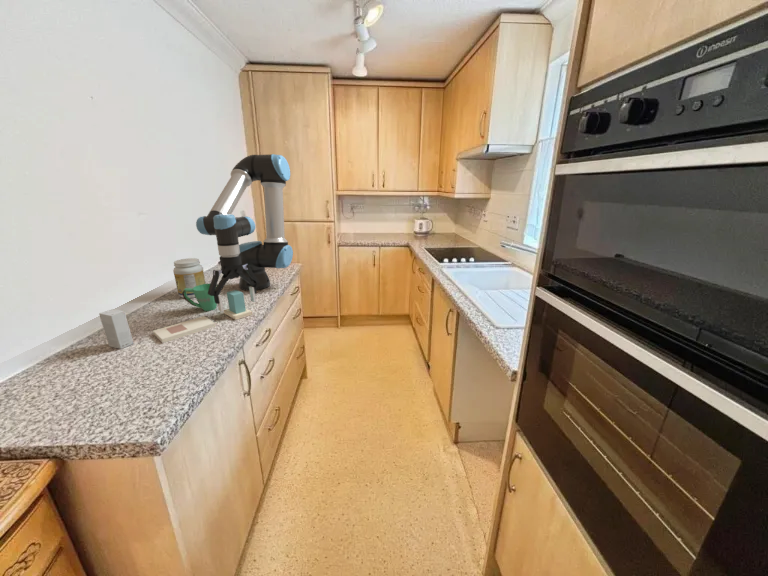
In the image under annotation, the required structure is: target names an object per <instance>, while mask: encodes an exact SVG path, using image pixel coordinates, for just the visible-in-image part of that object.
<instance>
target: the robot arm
mask: <svg viewBox="0 0 768 576" xmlns="http://www.w3.org/2000/svg"><path fill="white" fill-rule="evenodd" d="M290 169H291V168H290V165H289V163H288V161H287V158H285V156H283V155H282V154H274V153H272V154H270V153H269V154H251V155H247V156H245V157H244V158H242V159H241V160H239V162H237V163H236V164H235V165H234V167H233V168H232V169H231V171H230V178H229V179H228V181H227V183H226V185H225V186H224V188H223V189H222V191H221V192H220V195H218V198H217V199H216V201H215V202H214V204H213V205H212V208H211V209H210V210H209V212H208V214H207V216H205V215H204V216H199V217H198V218H197V219H196V222H195V226H196V229H197V231H198V232H199V234H201V235H204V236H205V235H207V236H216V238H215V239H216V244H217V250H218V255H219V263H220V267H221V268H220V269H213V270H212V278H211V281H210V283H209V284H210V287H209V290H208V294H209V295H210V296H214V301H215V303H216V304H217V308H218V311H220V312H224V306H223V300H222V295H220V294H221V292H222V291H223V289H224V287H225V285H226V284H227V282H228V281H229V280H233V279H238V278H239V281H238V285H239V290H240V289H241V290H242V291H249V295H250V296H249V297H250V302H252V303H256V302H257V300H256V294H257V290H263V289H267V288H268V287H270V286H271V280H270V277H269V275H268V274H267V272H266V269H268V268H269V269H271V268H272V269H287V268H289V266H290V265H291V263H292V260H293V257H294V256H293V255H294V250H293V247H292V246H291V245H290V244H289V240H287V239H286V238H285V217H284V216H285V215H284V214H285V213H284V209H285V208H284V190H283V189H284V188H285V187H286V185H287V182H288V181H289V180H290V179H291V170H290ZM257 181H260V185H261V186H262V187H263V193H264V194H263V195H264V213H265V215H264V216H265V231H266V235H265V236H266V238H265V239H264V240H263V242H262V240H254V241H248V242H244V243H241V244H239V238H241V237H245V236H250V235H251V234H253V233H254V232H255V230H256V224H255V221H254V220H253V218H252V217H249V216H239V217H235V214H233V212H234V210H235V208H236V206H237V205H238V203H239V202H240V200H241V198H242V196H243V194H244V193H245V192H246V189H247V187H250V186H251V185H252V183H253V182H257ZM221 274H222V276H221ZM220 276H221V277H220ZM219 278H220V280H219ZM217 284H218V285H217ZM215 288H216V289H215Z"/></svg>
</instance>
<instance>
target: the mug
mask: <svg viewBox="0 0 768 576" xmlns="http://www.w3.org/2000/svg"><path fill="white" fill-rule="evenodd" d="M210 284H211V283H206V284H202V285H198V286H195V287H193V288H192V289H191V288H185V289H184V290H183V292H182V294H183V297H184V298H183V299H184V300H185V301H186V302H187V303H189V304H190V305H192V306H194V307H195V308H196V307H197V308H199V309H202V310H203V311H204V312H210V311H211V310H212V311H214V310H217V307H218V304H216V303H215V301H214V296H210V295H209V294H208V290H209V287H210ZM218 284H219V283H217V285H218ZM217 285H216V286H217ZM215 289H216V288H215ZM186 292H193V293H194V295H195V298H196V301H197V302H198V303H197V302H194V300H192V298H189V297H188V296H187V294H186Z"/></svg>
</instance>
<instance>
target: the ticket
mask: <svg viewBox="0 0 768 576" xmlns="http://www.w3.org/2000/svg"><path fill="white" fill-rule="evenodd" d="M217 327H218V322H217V321H215V319H212V318H211V317H210V316H208V315H203V316H200V317H195V318H192V319H189V320H185V321H182V322H178V323H175V324H172V325H168V326H165V327H162V328H158V329H154V330H152V332H153V335H154V336H155V337H156V338H157V339H158V340H160V341H159V342H161V343H162V344H164V343H165V344H166V343H169V342H171V341H175V340H178V339H180V338H184V337H187V336H190V335H193V334H196V333H200V332H203V331H206V330H209V329H210V330H211V329H213V328H217Z"/></svg>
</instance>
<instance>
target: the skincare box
mask: <svg viewBox="0 0 768 576" xmlns="http://www.w3.org/2000/svg"><path fill="white" fill-rule="evenodd" d="M98 315H99V318H100V320H101V321H100V322H101V324H102V328H103V331H104V334H105V338H106V340H107V344H108V346H109V347H111V348H114V349H119V350H122V349H124V348H127V347H129V346H131V345H134V339H133V337H132V332H131V330H130V326H129V322H128V319H127V316H126V313H125V310H119V309H115V308H114V309H113V308H112V309H108V310H107V311H102V312H99V314H98Z"/></svg>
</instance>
